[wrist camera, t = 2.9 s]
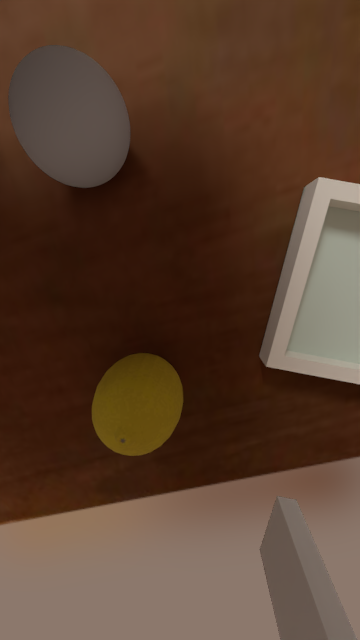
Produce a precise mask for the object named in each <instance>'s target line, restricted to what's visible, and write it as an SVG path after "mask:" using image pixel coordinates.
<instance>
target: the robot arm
mask: <svg viewBox="0 0 360 640" xmlns="http://www.w3.org/2000/svg"><path fill="white" fill-rule="evenodd" d="M260 552H261V557H262V561H263V565H264V570H265V574H266V579H267V583H268V588H269V592H270V596H271V601H272V605H273V609H274V614H275V618H276V622H277V627H278V631H279V635H280V639H281V640H357V638H356V636H355V634H354V631H353V629H352V627H351V624H350V622H349V620H348V618H347V615H346V613H345V611H344V608H343V606H342V604H341V602H340V599H339V597H338V595H337V592H336V590H335V588H334V585H333V583H332V581H331V578H330V576H329V574H328V571H327V569H326V567H325V565H324V562H323V560H322V558H321V555H320V553H319V551H318V549H317V546H316V544H315V542H314V539H313V537H312V535H311V532H310V530H309V528H308V526H307V523H306V521H305V519H304V516H303V514H302V512H301V509H300V507H299V505H298V502H297V500H295V499H290V498H285V497H280V496H277V497H276V501H275V504H274V507H273V510H272V513H271V517H270V520H269V522H268V526H267V529H266V532H265V535H264V538H263V541H262V545H261V548H260Z"/></svg>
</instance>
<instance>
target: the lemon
mask: <svg viewBox="0 0 360 640" xmlns="http://www.w3.org/2000/svg"><path fill="white" fill-rule="evenodd" d="M182 406H183V388H182V384H181V381H180V378H179V375H178V374H177V372H176V371H175V369H174V368H173V366H172V365H171V364H169V363H168V362H167V361H166V360H165V359H163V358H161V357H159V356H157V355H153V354H149V353H137V354H132V355H129V356H126V357H124V358H123V359H121V360H119V361H117V362H116V363H115V364H114V365H113V366H112V367H110V368H109V369H108V370H107V371H106V373H105V374H104V376H103V377H102V379H101V381H100V382H99V384H98V386H97V388H96V391H95V395H94V399H93V403H92V422H93V425H94V428H95V432H96V433H97V435H98V437H99V438H100V440H101V441H102V442H103V443H104V444H105V445H106V446H107V447H108V448H110V449H111V450H113V451H114V452H117V453H119V454H122V455H128V456H137V455H143V454H147V453H150V452H152V451H153V450H155V449H157V448H158V447H160V446H161V445H162V444H163V443H164V442H165V441H166V440H167V439H168V438H169V437H170V436H171V434H172V432H173V431H174V429H175V427H176V425H177V423H178V421H179V419H180V416H181V411H182Z"/></svg>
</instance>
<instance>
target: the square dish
mask: <svg viewBox="0 0 360 640" xmlns="http://www.w3.org/2000/svg"><path fill="white" fill-rule="evenodd" d="M259 357H260V358H261V360H262V361H263V363H264V364H265V366H266V367H270V368H276V369H281V370H286V371H292V372H297V373H302V374H307V375H313V376H318V377H323V378H329V379H334V380H339V381H345V382H350V383H355V384H360V184H354V183H349V182H343V181H338V180H332V179H326V178H321V177H318V178H317V179H315V180H314V181H313V182H311V183H310V184H308V185H307V186H305V187H304V190H303V194H302V197H301V201H300V205H299V209H298V212H297V216H296V220H295V223H294V227H293V231H292V235H291V238H290V242H289V246H288V250H287V253H286V257H285V261H284V264H283V268H282V272H281V276H280V279H279V283H278V287H277V291H276V294H275V298H274V302H273V305H272V309H271V313H270V317H269V320H268V324H267V328H266V332H265V335H264V339H263V343H262V346H261V350H260V354H259Z"/></svg>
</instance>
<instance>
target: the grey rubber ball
mask: <svg viewBox="0 0 360 640" xmlns="http://www.w3.org/2000/svg"><path fill="white" fill-rule="evenodd" d="M8 98H9V111H10V117H11V121H12V125H13V128H14V130H15V133H16V136H17V138H18V140H19V142H20V144H21V145H22V147H23V149H24V150H25V152H26V153H27V155H28V156H29V157H30V158H31V160H32V161H33V162H34V163H35V164H36V165H37V166H38V167H39V168H40V169H41V170H42V171H43V172H45V173H46V174H47V175H49V176H50V177H52V178H53V179H55V180H57V181H59V182H61V183H63V184H66V185H69V186H73V187H80V188H90V187H95V186H98V185H101V184H104V183H105V182H107V181H109V180H110V179H112V178H113V177H114V176H115V175H116V174H117V173H118V171H119V170H120V169H121V167H122V166H123V164H124V162H125V160H126V157H127V154H128V150H129V145H130V122H129V116H128V112H127V109H126V105H125V102H124V100H123V98H122V95H121V93H120V91H119V90H118V88H117V86H116V84H115V83H114V81H113V80H112V78H111V77H110V76H109V75H108V73H107V72H106V71H105V70H104V69H103V68H102V67H101V66H100V65H99V64H98V63H97V62H95V61H94V60H93V59H92V58H90V57H89V56H87V55H86V54H84V53H82V52H80V51H78V50H75V49H73V48H70V47H66V46H59V45H49V46H44V47H40V48H38V49H35V50H33V51H32V52H30V53H29V54H28V55H26V56H25V57H24V58H23V59H22V60H21V62H20V63H19V64H18V66H17V67H16V69H15V71H14V74H13V76H12V79H11V82H10V87H9V97H8Z"/></svg>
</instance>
